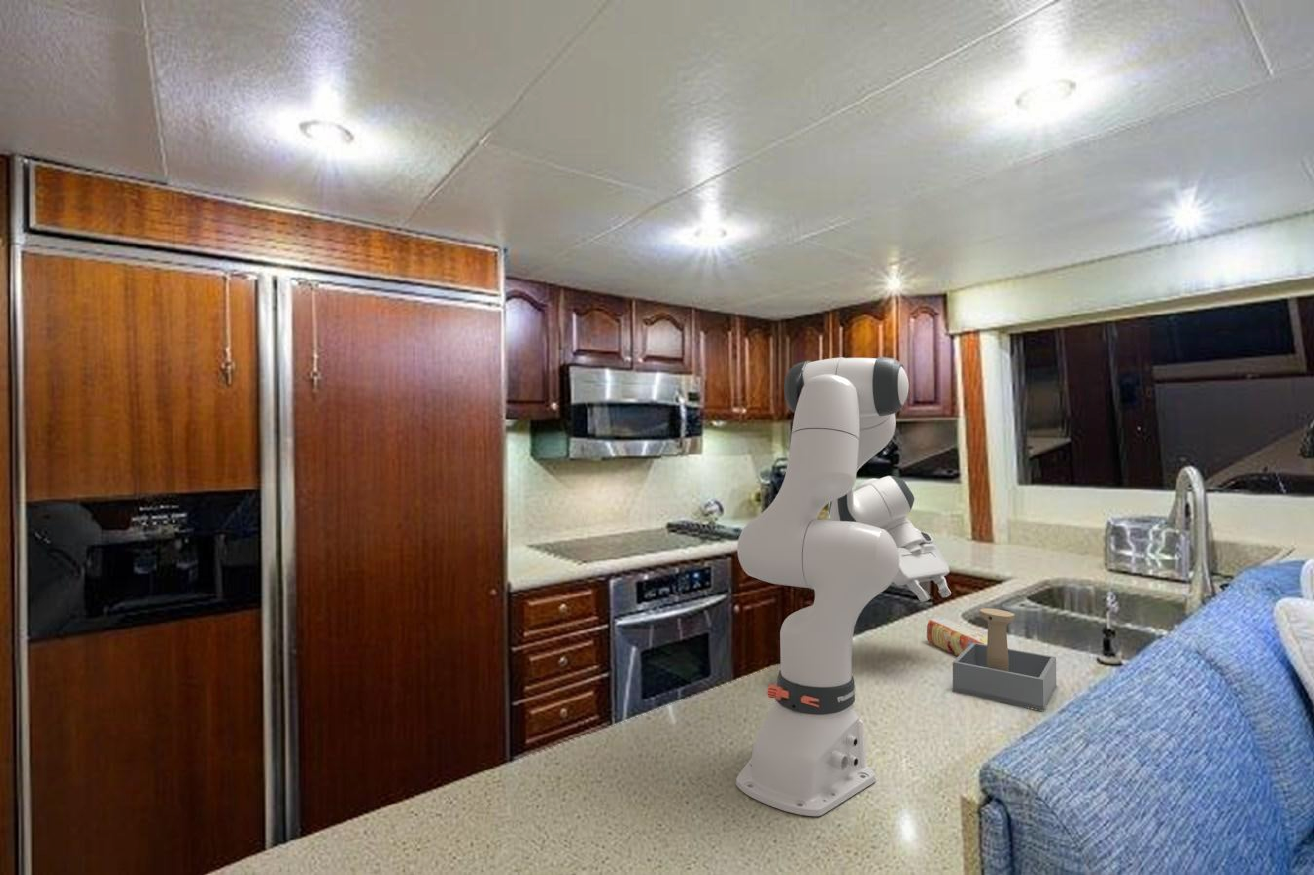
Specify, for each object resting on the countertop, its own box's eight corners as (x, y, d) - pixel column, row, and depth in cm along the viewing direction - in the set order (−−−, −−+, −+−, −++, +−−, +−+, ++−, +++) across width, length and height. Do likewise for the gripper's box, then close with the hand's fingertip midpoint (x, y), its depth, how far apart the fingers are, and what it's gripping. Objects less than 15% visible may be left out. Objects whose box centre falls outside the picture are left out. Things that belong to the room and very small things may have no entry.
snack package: (1012, 671, 144) (1012, 640, 144) (987, 674, 142) (986, 643, 142) (947, 642, 164) (947, 615, 164) (924, 644, 162) (924, 617, 162)
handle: (989, 678, 136) (988, 607, 136) (1020, 688, 130) (1019, 614, 130) (975, 683, 133) (975, 610, 133) (1006, 693, 128) (1005, 617, 128)
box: (1043, 711, 122) (1042, 679, 122) (952, 691, 132) (952, 662, 132) (1056, 685, 134) (1056, 657, 134) (972, 669, 144) (972, 642, 144)
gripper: (887, 538, 140) (924, 595, 133) (933, 534, 153) (969, 586, 146) (866, 553, 144) (901, 610, 137) (913, 548, 157) (947, 600, 150)
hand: (937, 598), depth 142 cm, fingers open, 8 cm apart
